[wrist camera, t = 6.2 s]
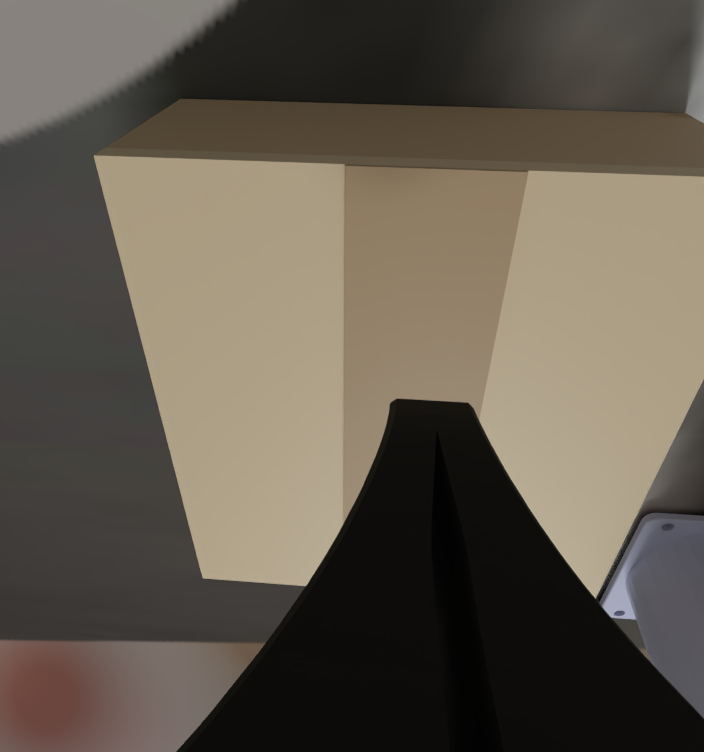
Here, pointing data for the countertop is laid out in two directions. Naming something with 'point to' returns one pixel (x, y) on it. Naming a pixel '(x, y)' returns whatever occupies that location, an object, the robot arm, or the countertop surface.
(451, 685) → the robot arm
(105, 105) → the countertop surface
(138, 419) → the countertop surface
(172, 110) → the cardboard box
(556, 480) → the cardboard lid
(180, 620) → the countertop surface
